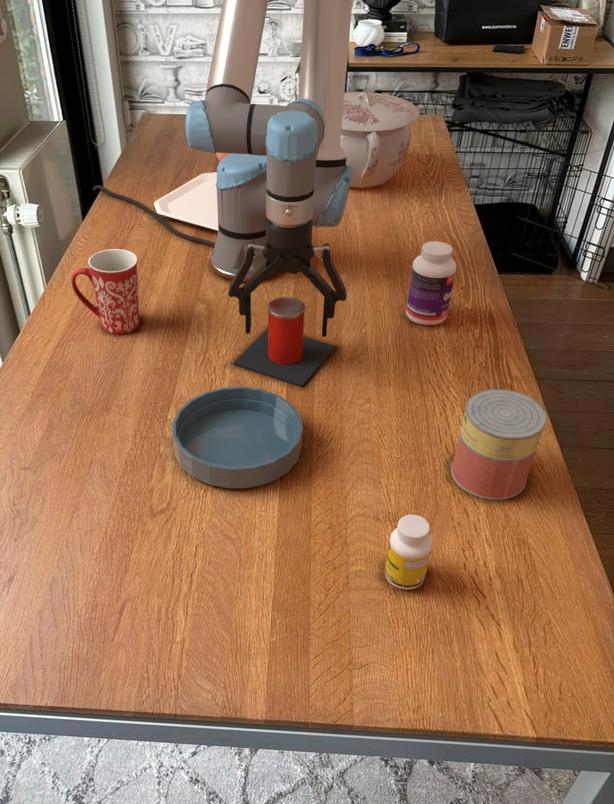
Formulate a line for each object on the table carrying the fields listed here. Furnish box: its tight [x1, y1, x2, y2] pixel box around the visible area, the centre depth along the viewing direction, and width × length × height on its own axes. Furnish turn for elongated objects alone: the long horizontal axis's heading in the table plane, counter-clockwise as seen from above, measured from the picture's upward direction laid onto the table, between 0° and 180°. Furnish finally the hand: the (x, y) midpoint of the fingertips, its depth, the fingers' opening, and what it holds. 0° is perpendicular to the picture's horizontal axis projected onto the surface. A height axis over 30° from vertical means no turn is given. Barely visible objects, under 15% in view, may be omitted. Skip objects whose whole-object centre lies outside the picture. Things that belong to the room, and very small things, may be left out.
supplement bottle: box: [384, 514, 433, 590], centre depth 101 cm, size 5×5×10 cm
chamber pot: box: [340, 91, 421, 189], centre depth 195 cm, size 28×28×21 cm
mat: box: [232, 328, 337, 388], centre depth 142 cm, size 14×14×1 cm
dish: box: [171, 385, 304, 490], centre depth 122 cm, size 20×20×4 cm
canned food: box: [450, 388, 548, 501], centre depth 115 cm, size 11×11×12 cm
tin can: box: [267, 296, 306, 365], centre depth 139 cm, size 7×7×10 cm
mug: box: [70, 248, 140, 335], centre depth 146 cm, size 13×9×14 cm
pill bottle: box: [405, 240, 457, 326], centre depth 147 cm, size 8×8×14 cm
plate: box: [153, 171, 218, 233], centre depth 188 cm, size 29×29×2 cm
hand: (286, 331), depth 139 cm, fingers open, 13 cm apart
